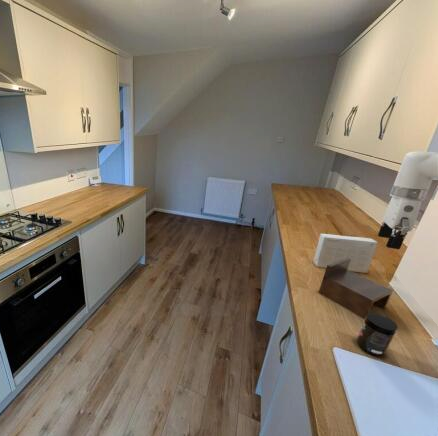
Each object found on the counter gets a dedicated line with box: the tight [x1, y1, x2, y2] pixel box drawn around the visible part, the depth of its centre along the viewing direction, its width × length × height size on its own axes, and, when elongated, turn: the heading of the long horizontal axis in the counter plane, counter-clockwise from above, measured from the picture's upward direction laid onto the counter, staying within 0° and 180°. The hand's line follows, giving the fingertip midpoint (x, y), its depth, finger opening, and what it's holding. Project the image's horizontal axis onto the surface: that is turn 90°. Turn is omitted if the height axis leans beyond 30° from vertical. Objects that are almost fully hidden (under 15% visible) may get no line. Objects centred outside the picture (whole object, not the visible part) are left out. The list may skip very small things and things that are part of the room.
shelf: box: [318, 258, 394, 320], centre depth 91 cm, size 16×14×13 cm
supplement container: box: [355, 312, 399, 357], centre depth 70 cm, size 7×7×10 cm
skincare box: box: [312, 233, 379, 274], centre depth 112 cm, size 21×6×16 cm, turn 74°
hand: (387, 242), depth 80 cm, fingers open, 9 cm apart
